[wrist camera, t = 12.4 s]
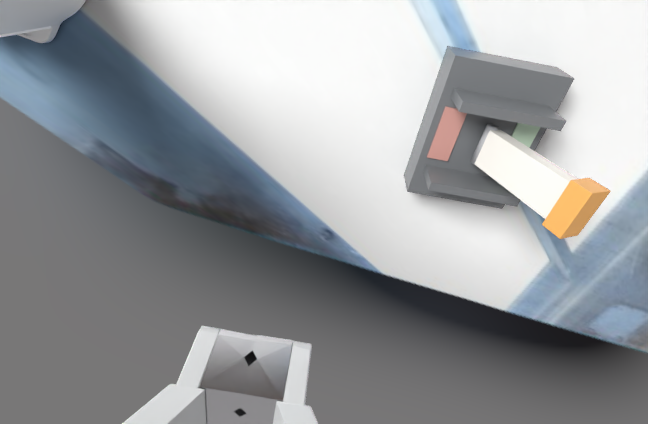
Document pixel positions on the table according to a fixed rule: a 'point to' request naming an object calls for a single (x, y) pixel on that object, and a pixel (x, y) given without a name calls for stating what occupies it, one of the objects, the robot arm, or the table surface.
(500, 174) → the breaker lever
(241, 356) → the robot arm
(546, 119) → the grey switch base
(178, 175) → the table surface
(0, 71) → the table surface
